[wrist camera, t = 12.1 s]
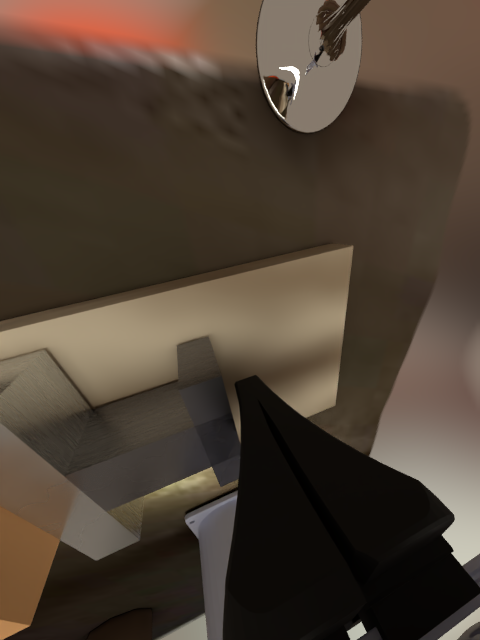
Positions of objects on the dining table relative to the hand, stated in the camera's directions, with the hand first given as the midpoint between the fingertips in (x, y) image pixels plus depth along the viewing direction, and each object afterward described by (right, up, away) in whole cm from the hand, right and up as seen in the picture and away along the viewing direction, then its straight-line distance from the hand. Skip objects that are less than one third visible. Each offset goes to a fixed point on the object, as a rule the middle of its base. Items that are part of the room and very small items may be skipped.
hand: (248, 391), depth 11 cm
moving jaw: (-5, -1, 0) cm, 5 cm away
